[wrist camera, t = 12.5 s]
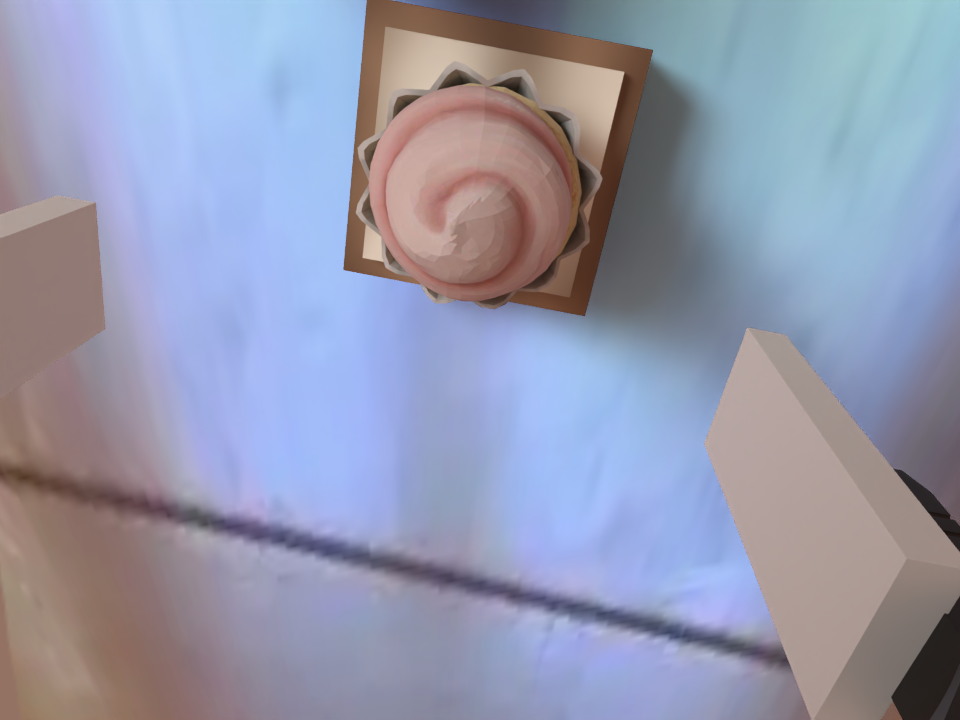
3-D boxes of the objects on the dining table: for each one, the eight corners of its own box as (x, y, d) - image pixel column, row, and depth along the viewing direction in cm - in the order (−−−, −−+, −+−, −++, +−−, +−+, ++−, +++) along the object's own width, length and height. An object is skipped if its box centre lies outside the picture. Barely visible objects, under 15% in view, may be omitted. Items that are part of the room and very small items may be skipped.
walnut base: (370, 238, 39) (340, 273, 33) (394, 2, 33) (363, -5, 28) (579, 278, 39) (585, 320, 33) (636, 48, 33) (655, 50, 28)
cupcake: (501, 4, 27) (480, -10, 18) (633, 190, 30) (669, 257, 21) (337, 153, 31) (249, 203, 22) (469, 310, 33) (440, 412, 24)
